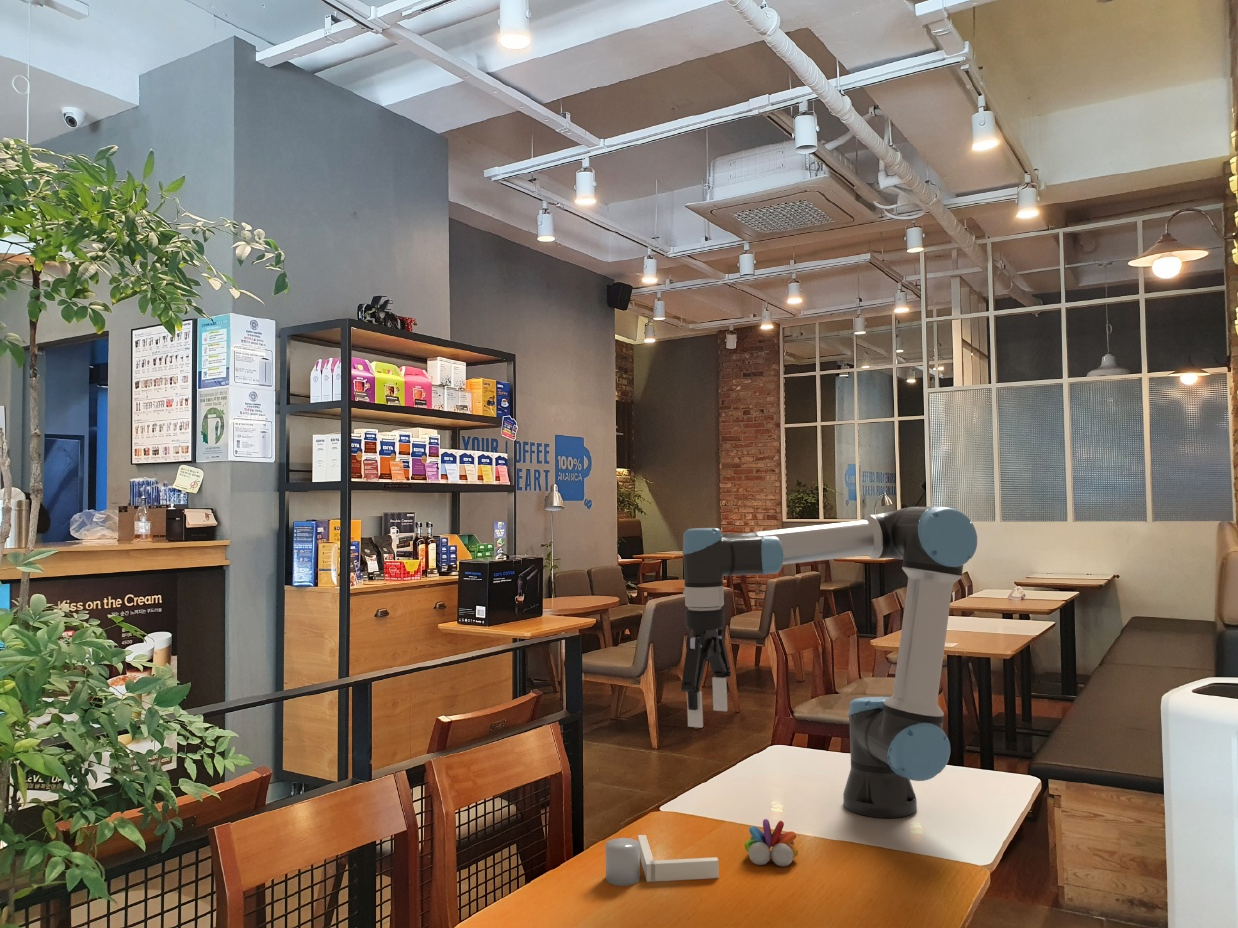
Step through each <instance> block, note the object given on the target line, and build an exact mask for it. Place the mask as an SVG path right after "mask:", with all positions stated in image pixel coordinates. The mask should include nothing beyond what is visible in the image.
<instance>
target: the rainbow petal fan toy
mask: <svg viewBox="0 0 1238 928" xmlns="http://www.w3.org/2000/svg"><path fill="white" fill-rule="evenodd" d="M784 826H785V822H784V821H782V820H779V821H778V822H777V824H776V825H775V828H774V829H773V832H772V829H771V823H770V821H769V819H767V818H763V820H762V829H763V831H762V830H761V829H760V828H759V827H757V826H754V825H752V826H750V827H749V828H748V829H749V830H748V831H749V834H750V838H749V840H746V842H744V849H745V851H746V852H747V853H748V857H749V859H750V861H751V862H752V863H753V864H755V865H757V866H763V865H766V864H767V863H768V862H770V859H771V860H772V862H774V864H775V865H777V866H778V867H787V866H790V865H791V863H792V862H793V860H794V858H796V857H797V856H798V855H799V850H798V848H797V847H796V846H795V839H796V838H797V833H796V832H795V831H787V832H783V828H784Z"/></svg>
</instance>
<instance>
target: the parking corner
mask: <svg viewBox="0 0 1238 928" xmlns="http://www.w3.org/2000/svg"><path fill="white" fill-rule="evenodd" d="M637 841H638V842H639V853H640V863H641V866H642V870H643V873H644V877H645V880H646V882H647V883H650V882H651V883H653V882H667V881H668V882H669V881H687V880H689V881H691V880H705V879H707V880H708V879H709V880H710V879H720V871H719V870H720V868H719V867H720V864H719V863H720V862H719V859H718V857H717V856H715V857H700V858H699V857H698V858H697V857H695V858H680V859H679V858H678V859H677V858H676V859H675V858H674V859H661V860H660V859H659V860H654V856H653V854H652V851H651V847H650V844H649V841H648V838H647V835H646V834H639V835H637Z"/></svg>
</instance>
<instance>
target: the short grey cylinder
mask: <svg viewBox="0 0 1238 928" xmlns="http://www.w3.org/2000/svg"><path fill="white" fill-rule="evenodd" d="M604 847H605V850H604V851H605V881H606V882H607V883H608V884H610V885H611V886H612V885H613V886H619V887H627V886H633V885H635V884H637V883H639V882H640V879H641V868H640V867H641V864H640V863H641V859H640V853H639V842H638V840H636V839H634V838H629V837H618V838H613V839H610V840H608V841H606V843H605V845H604Z"/></svg>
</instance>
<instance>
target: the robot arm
mask: <svg viewBox="0 0 1238 928" xmlns="http://www.w3.org/2000/svg"><path fill="white" fill-rule="evenodd" d="M682 537H683V538H682V555H683V556H682V557H683V558H682V559H683V575H684V576H683V577H684V578H683V579H684V590H683V591H682V595H683V596H684V606H686V607H687V609H686V610H685V611H684V612H685V613H684V615H685V628H686V629H687V630H692V631H693V636H692V637H691V636H689V637H686V651H685V657H684V664H683V672H682V679H681V680H682V681H681V688H680V689H681V692H683V693H685V692H686V704H687V707H686V708H687V712H686V713H687V727H690V728H701V729H702V728H703V727H704V722H703V721H704V718H703V717H704V716H703V715H704V714H703V692H702V691H701V686H702V681H703V676H704V672H705V667H706V663H707V662H708V663H709V665H710V668H711V670H712V673H713V675H714V676H713V677H712V678H711V680H712V683H711V684H712V703H713V704H712V705H713V707H712V708H713V709H712V710H713V711H716V712H728V693H727V692H728V688H727V678H731V675H732V672H731V666H730V661H729V657H728V652H727V647H726V643H725V638H724V629H723V628H724V627H725V610H724V609H723V607H724V605H725V600H724V599H725V595H724V577H730V576H753V575H754V576H756V575H763V576H766V575H770V574H777V573H779V572H780V571H781V570H782V567H783V565H789V564H790V565H791V564H800V563H808V562H816V561H817V562H818V561H827V560H835V559H836V560H838V559H846V558H854V557H863V556H864V557H865V556H868V557H869V558H870V559H873V560H879V559H897V560H902V567H901V569H902V570H903V572H904V573H905V575H906V576H907V586H906V594H905V601H904V608H903V617H902V623H901V631H900V637H899V638H900V640H899V647H898V653H897V654H898V655H897V661H896V662H897V663H896V668H895V676H894V684H893V690H892V691H893V692H892V695H891V696H866V697H858V698H854V699H852V700H851V701H850V702H849V709H848V710H849V711H848V718H849V719H848V721H849V722H848V725H849V726H848V727H849V747H850V748H849V750H850V752H849V753H850V770H849V774H848V777H847V779H846V784H845V786H844V789H843V796H842V797H843V799H842V800H843V807H844V808H845V809H847V810H848V811H850V812H853V813H854V814H857V815H862V816H865V817H866V816H867V817H873V818H883V819H885V818H886V819H889V818H890V819H893V818H894V819H896V818H903V817H907V816H911V815H913V814H915V813H916V811H917V809H918V807H917V806H918V805H917V800H918V799H917V796H916V794H915V793H916V792H915V791H914V787H913V785H912V781H915V782H924V781H925V782H926V781H929V780H932V779H933V778H935V777H936V776H937V775H938V774H941V773H942V772H943V770H945V768H946V766H947V764H948V763H949V760H950V756H951V743H950V740H949V738H948V736H947V734H946V733H945V731H944V730H943V727H944V726H943V725H944V716H945V713H944V711H943V710H942V708H941V707H940V706H939V705H938V701H939V700H938V699H939V691H940V684H941V676H942V669H943V661H944V653H945V646H946V637H947V631H948V621H949V615H950V606H951V598H952V591H953V586H954V584H955V583H956V582H958V581H959V580H960V579H962V578H963V570H964V565H965V564H966V563H968V562H969V560H971V559H972V558H973V556H974V555H975V553H976V550H977V547H978V533H977V529H976V528H975V526H974V523H973V522H972V521H971V519H970V518H969V516H967V515H966V514H965V513H963V512H962V511H960V510H958V509H956V508H952V507H946V506H943V505H942V506H938V505H936V506H908V507H904V508H900V509H895V510H892V511H887V512H881V513H875V514H868V515H866V516H864V518H863V519H861V520H854V521H844V522H843V521H842V522H835V523H833V522H832V523H826V524H817V525H808V526H807V525H806V526H798V527H789V528H779V529H778V528H776V529H770V530H767V529H766V530H761V531H754V532H753V531H752V532H751V531H750V532H742V533H733V532H729V533H728V532H727V533H724V534H722V531H721V529H720V528H717V527H700V528H699V527H698V528H697V527H696V528H688V529H686V530H685V531H684V533H683V536H682Z"/></svg>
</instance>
